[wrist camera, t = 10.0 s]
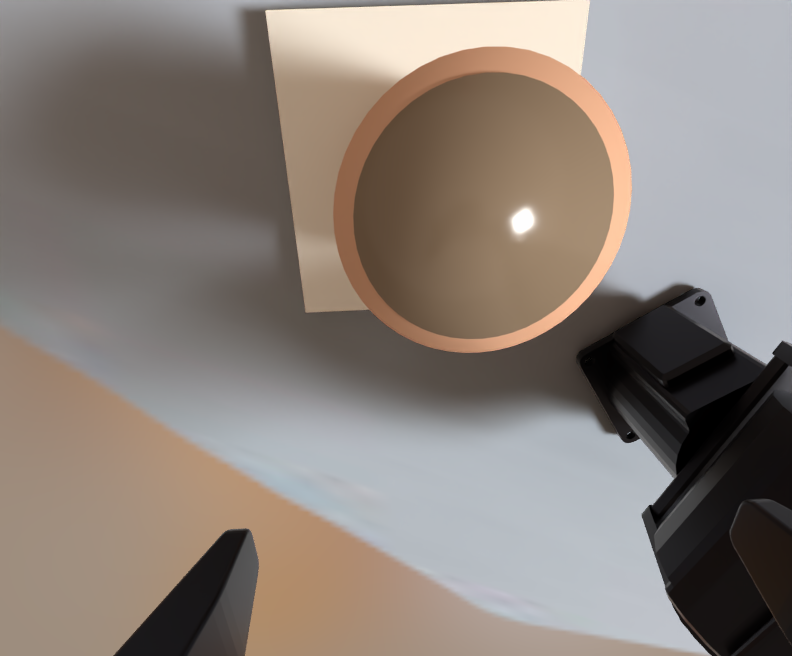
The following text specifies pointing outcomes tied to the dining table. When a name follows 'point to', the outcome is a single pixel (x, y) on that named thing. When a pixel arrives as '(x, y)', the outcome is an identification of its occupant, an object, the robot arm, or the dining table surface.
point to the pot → (482, 199)
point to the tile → (377, 94)
